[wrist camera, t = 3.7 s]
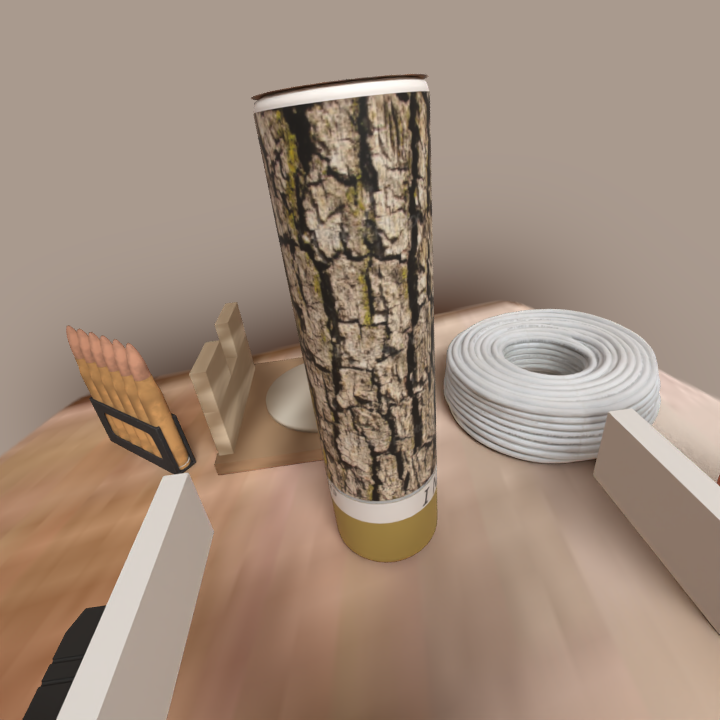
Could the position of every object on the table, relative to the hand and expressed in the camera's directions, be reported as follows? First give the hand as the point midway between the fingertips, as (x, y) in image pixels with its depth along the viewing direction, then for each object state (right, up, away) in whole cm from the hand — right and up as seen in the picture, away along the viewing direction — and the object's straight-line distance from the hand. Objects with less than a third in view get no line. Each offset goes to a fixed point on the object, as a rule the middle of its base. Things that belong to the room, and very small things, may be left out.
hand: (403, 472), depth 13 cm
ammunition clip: (-20, -5, +25) cm, 32 cm away
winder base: (-6, -1, +28) cm, 29 cm away
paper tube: (+1, -8, +15) cm, 17 cm away
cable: (+15, -1, +25) cm, 29 cm away
